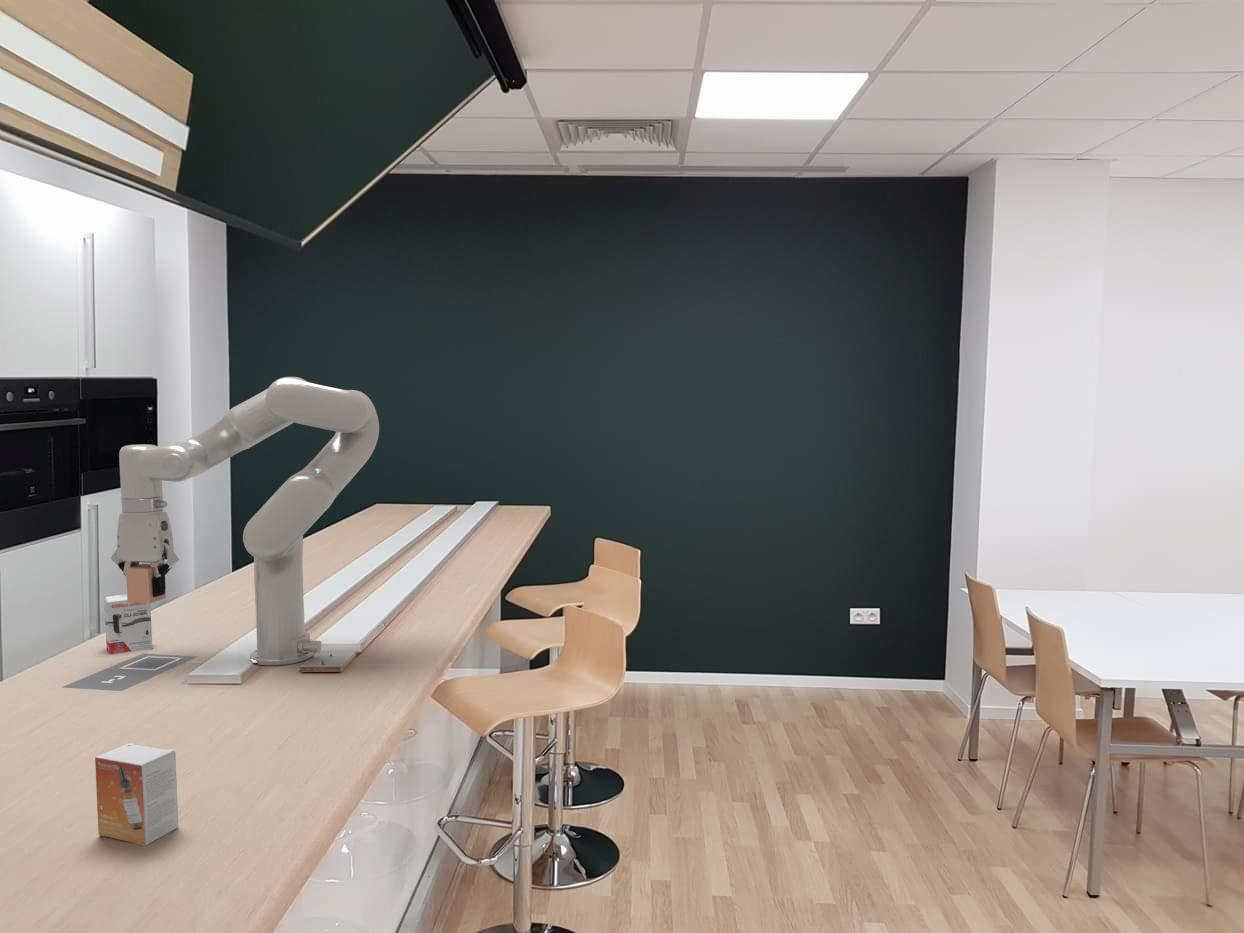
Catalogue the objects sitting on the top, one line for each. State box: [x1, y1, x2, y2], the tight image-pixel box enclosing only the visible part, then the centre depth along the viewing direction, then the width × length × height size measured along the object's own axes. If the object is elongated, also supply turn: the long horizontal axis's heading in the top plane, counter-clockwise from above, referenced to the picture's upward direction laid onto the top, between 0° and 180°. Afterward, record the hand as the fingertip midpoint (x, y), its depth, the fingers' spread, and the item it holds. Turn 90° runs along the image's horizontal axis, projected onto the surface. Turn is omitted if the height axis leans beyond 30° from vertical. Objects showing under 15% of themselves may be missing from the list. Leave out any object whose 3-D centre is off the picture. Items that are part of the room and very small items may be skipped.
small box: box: [94, 742, 179, 847], centre depth 127 cm, size 8×6×10 cm
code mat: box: [62, 653, 198, 692], centre depth 197 cm, size 13×23×1 cm, turn 168°
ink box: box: [103, 593, 153, 655], centre depth 213 cm, size 8×5×12 cm, turn 123°
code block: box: [125, 563, 167, 605], centre depth 201 cm, size 5×5×7 cm
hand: (146, 593), depth 201 cm, fingers closed on code block, 5 cm apart
